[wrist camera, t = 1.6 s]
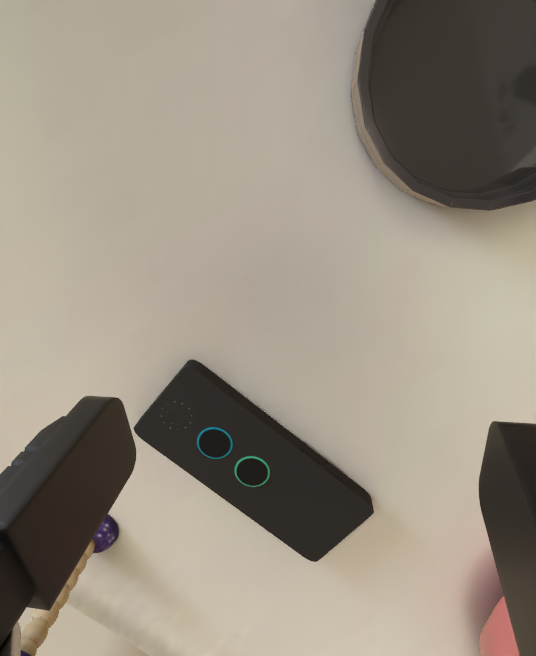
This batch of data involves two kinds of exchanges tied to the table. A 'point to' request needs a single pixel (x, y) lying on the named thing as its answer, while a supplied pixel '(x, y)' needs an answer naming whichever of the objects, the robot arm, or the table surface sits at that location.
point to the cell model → (498, 634)
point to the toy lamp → (65, 591)
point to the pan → (450, 99)
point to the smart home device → (253, 462)
